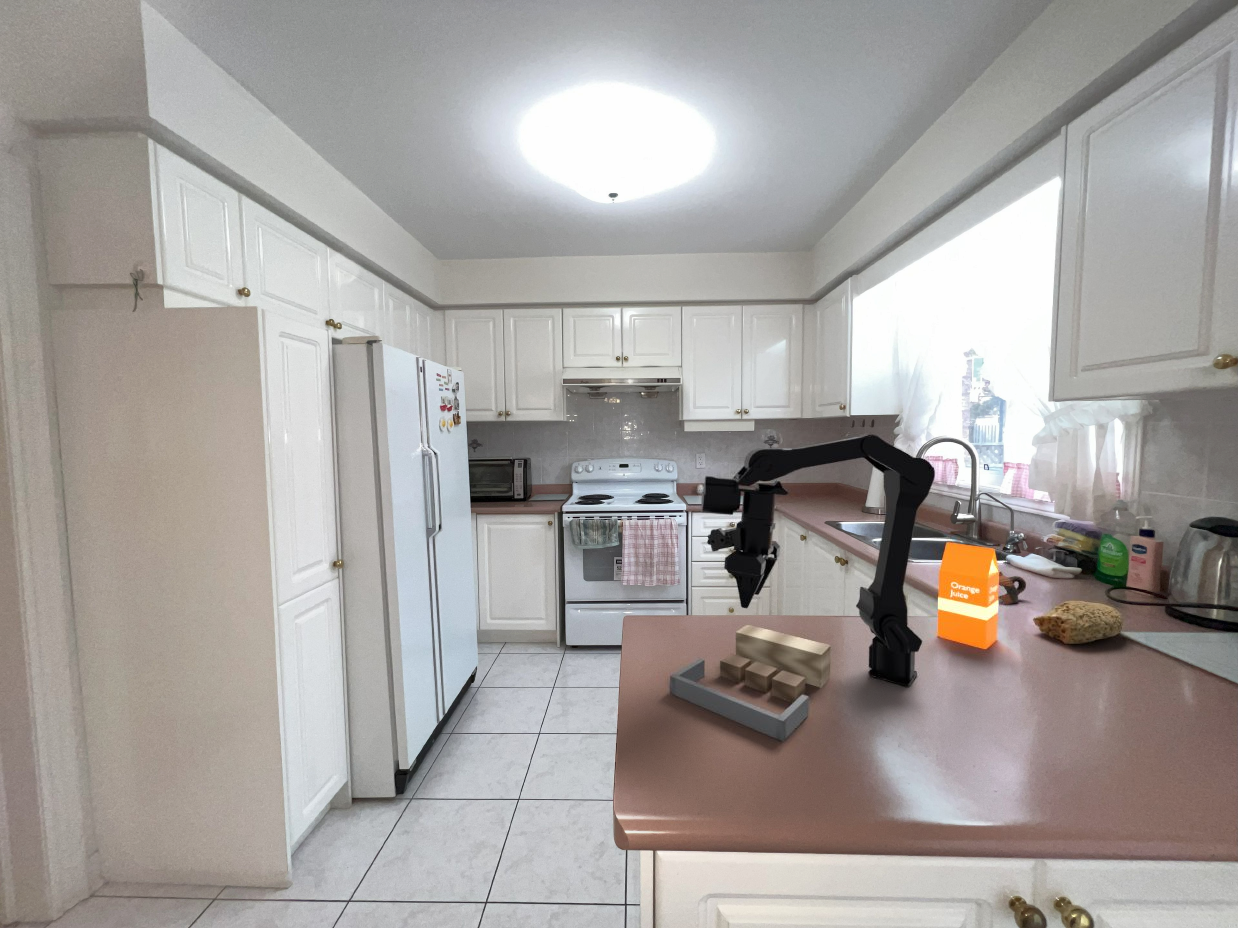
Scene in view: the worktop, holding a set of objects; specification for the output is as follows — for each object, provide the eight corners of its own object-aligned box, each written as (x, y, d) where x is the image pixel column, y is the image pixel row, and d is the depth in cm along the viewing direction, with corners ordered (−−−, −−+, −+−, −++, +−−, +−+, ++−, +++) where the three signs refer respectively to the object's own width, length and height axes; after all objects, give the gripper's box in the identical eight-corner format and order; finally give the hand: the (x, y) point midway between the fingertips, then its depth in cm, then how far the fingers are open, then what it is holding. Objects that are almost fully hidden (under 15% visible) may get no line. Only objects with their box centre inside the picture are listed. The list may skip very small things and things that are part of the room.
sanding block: (830, 677, 89) (830, 645, 89) (821, 688, 86) (821, 654, 85) (747, 653, 100) (747, 624, 99) (735, 662, 96) (735, 631, 95)
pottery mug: (995, 607, 126) (978, 575, 130) (976, 612, 135) (961, 582, 138) (1042, 595, 126) (1024, 564, 129) (1020, 601, 134) (1004, 571, 138)
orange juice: (985, 649, 100) (988, 551, 99) (936, 636, 107) (939, 544, 106) (997, 639, 105) (1000, 546, 104) (949, 627, 112) (952, 539, 111)
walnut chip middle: (777, 685, 87) (777, 668, 87) (766, 693, 84) (766, 676, 84) (756, 677, 90) (756, 661, 89) (744, 685, 87) (745, 669, 86)
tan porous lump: (1085, 658, 99) (1157, 628, 103) (1072, 619, 100) (1144, 591, 104) (1021, 644, 112) (1087, 617, 116) (1010, 609, 112) (1076, 585, 117)
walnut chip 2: (805, 694, 83) (805, 677, 83) (795, 704, 80) (795, 686, 80) (782, 686, 86) (782, 670, 86) (771, 695, 83) (772, 678, 83)
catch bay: (808, 715, 77) (808, 696, 77) (783, 741, 70) (783, 720, 70) (699, 674, 91) (699, 658, 90) (670, 692, 84) (670, 675, 84)
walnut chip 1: (750, 675, 90) (751, 659, 90) (739, 683, 87) (739, 667, 87) (731, 669, 93) (731, 653, 93) (720, 676, 90) (720, 660, 90)
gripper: (727, 506, 103) (721, 580, 104) (699, 517, 86) (692, 605, 87) (783, 513, 98) (776, 591, 99) (764, 526, 81) (756, 619, 82)
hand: (750, 600), depth 92 cm, fingers open, 9 cm apart
